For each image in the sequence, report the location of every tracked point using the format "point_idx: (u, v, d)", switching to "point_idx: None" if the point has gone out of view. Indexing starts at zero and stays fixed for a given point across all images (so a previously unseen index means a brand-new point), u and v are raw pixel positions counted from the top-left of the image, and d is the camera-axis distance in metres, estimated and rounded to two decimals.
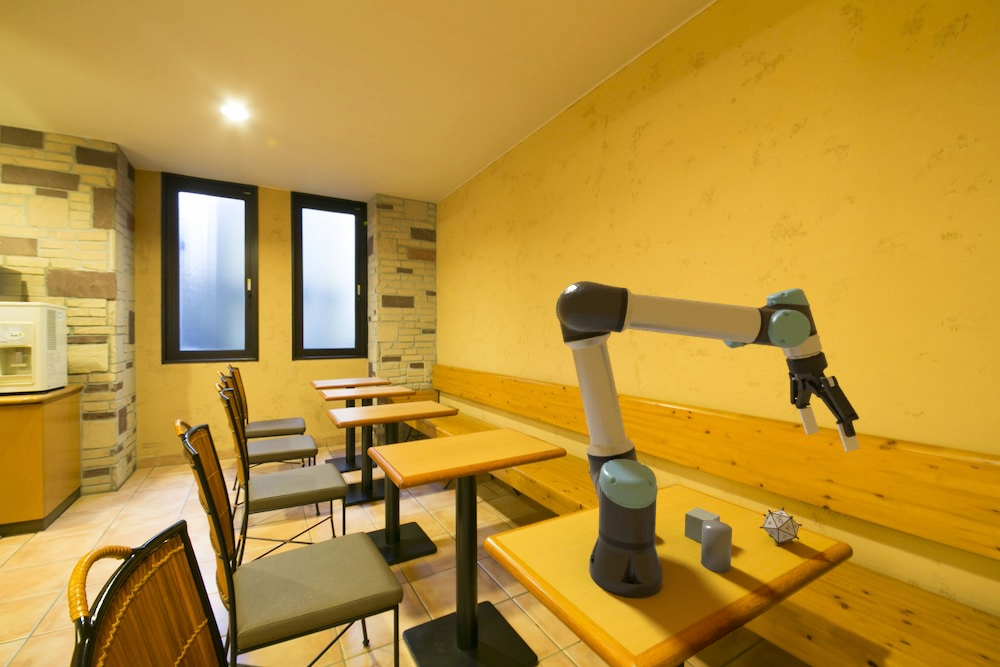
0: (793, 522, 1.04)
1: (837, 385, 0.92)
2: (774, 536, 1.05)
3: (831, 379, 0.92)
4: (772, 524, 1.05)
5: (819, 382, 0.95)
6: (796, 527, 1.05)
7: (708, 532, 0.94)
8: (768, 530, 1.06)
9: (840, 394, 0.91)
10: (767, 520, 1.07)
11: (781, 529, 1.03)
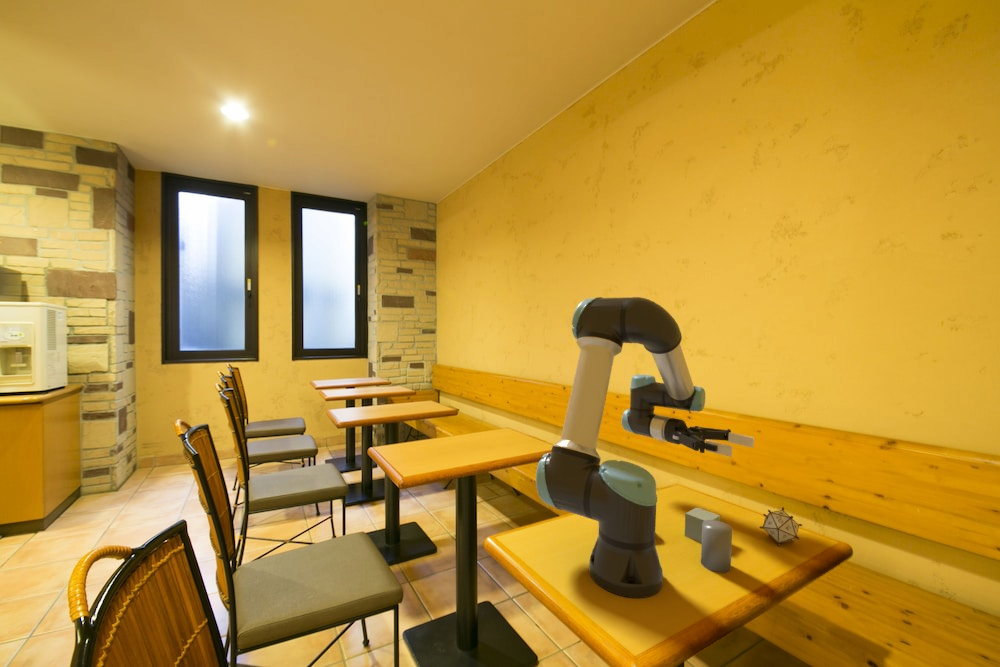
0: (793, 522, 1.04)
1: None
2: (774, 536, 1.05)
3: None
4: (772, 524, 1.05)
5: None
6: (796, 527, 1.05)
7: (708, 532, 0.94)
8: (768, 530, 1.06)
9: None
10: (767, 520, 1.07)
11: (781, 529, 1.03)
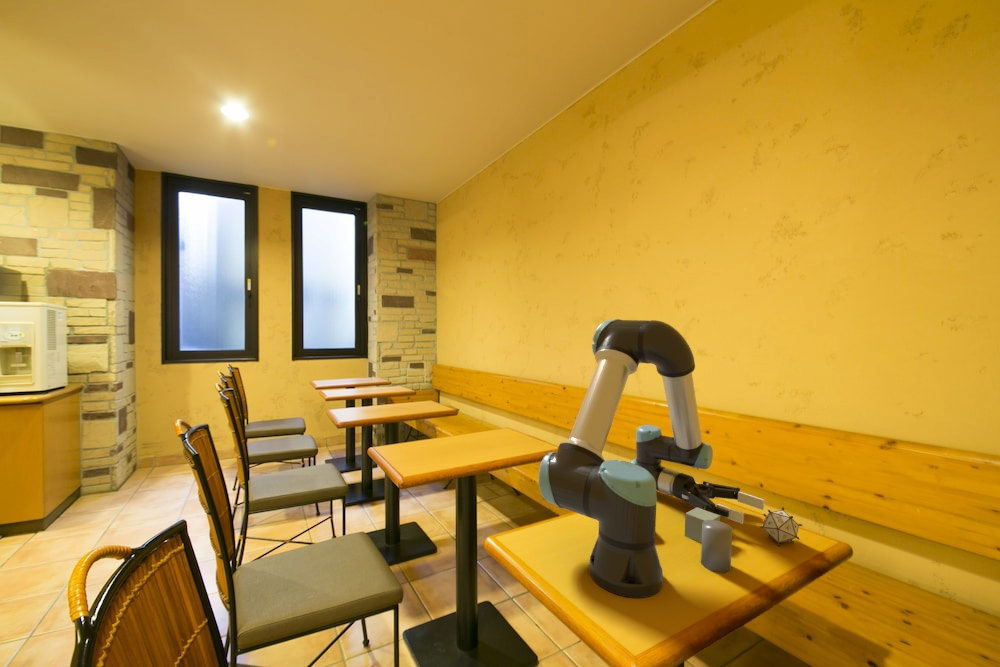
0: (793, 522, 1.04)
1: None
2: (774, 536, 1.05)
3: None
4: (772, 524, 1.05)
5: None
6: (796, 527, 1.05)
7: (708, 532, 0.94)
8: (768, 530, 1.06)
9: None
10: (767, 520, 1.07)
11: (781, 529, 1.03)
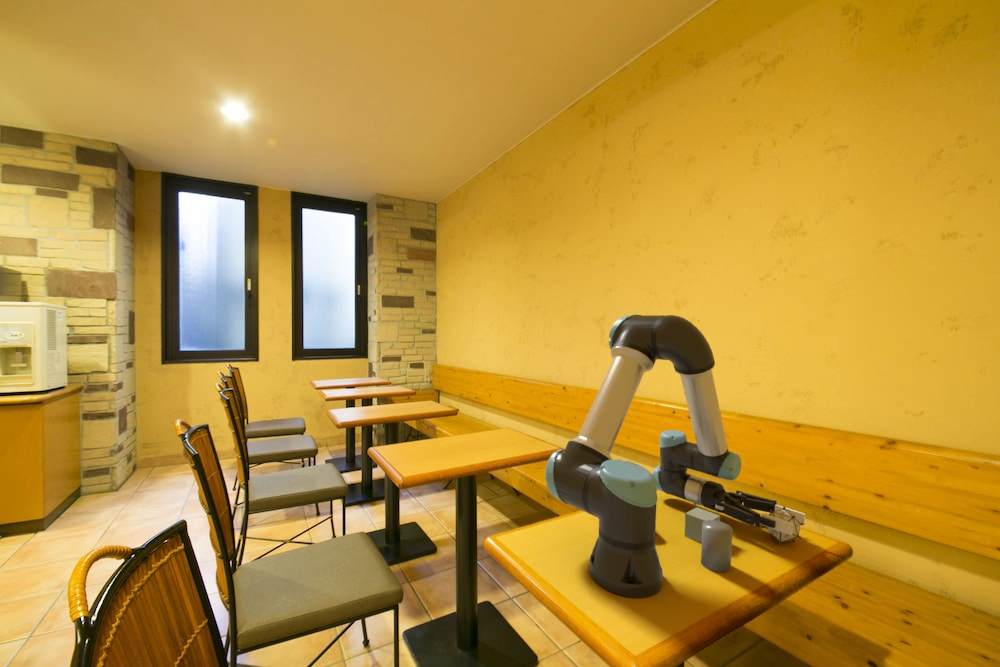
0: (795, 522, 1.05)
1: None
2: (776, 535, 1.05)
3: None
4: None
5: None
6: (798, 526, 1.05)
7: (708, 532, 0.94)
8: (770, 530, 1.06)
9: None
10: None
11: None
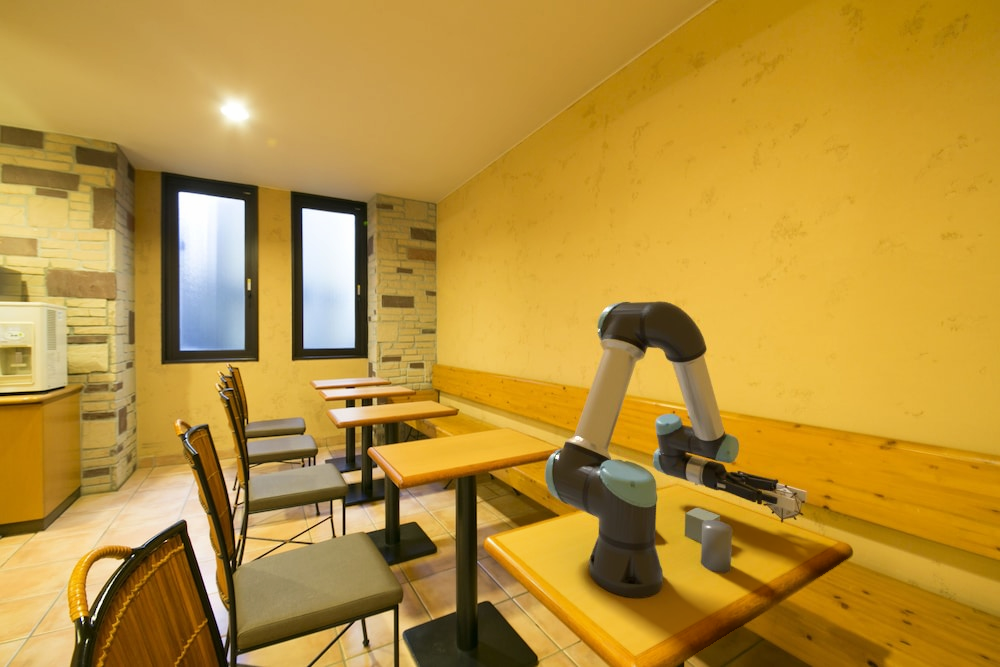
0: (797, 499, 1.05)
1: None
2: (778, 513, 1.05)
3: None
4: None
5: None
6: (799, 503, 1.05)
7: (708, 532, 0.94)
8: (772, 507, 1.06)
9: None
10: None
11: None
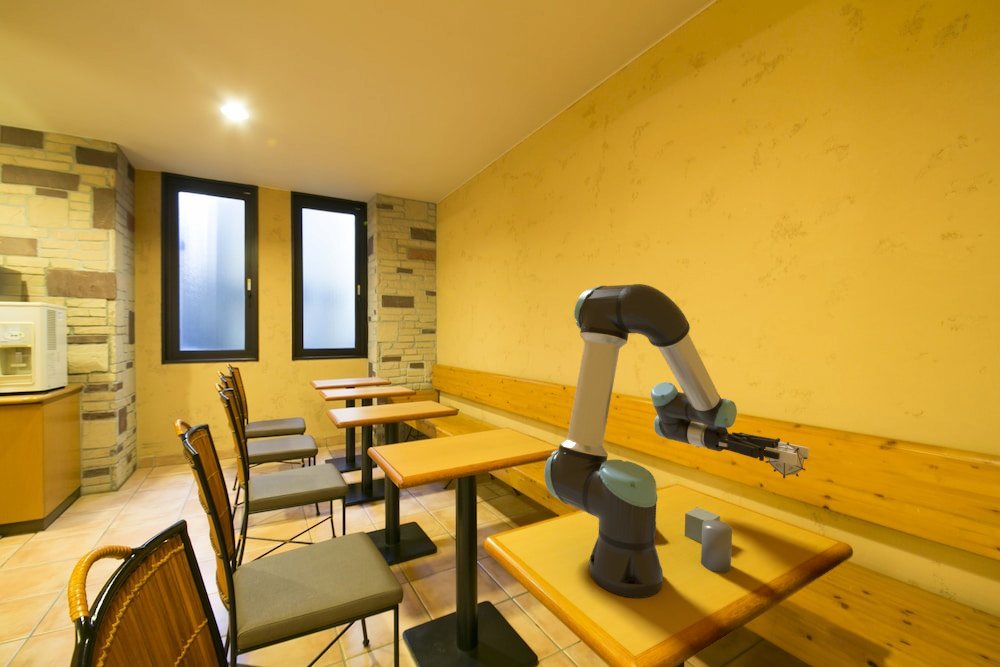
0: (799, 455, 1.04)
1: None
2: (780, 469, 1.05)
3: None
4: None
5: None
6: (802, 459, 1.04)
7: (708, 532, 0.94)
8: (774, 464, 1.06)
9: None
10: None
11: None
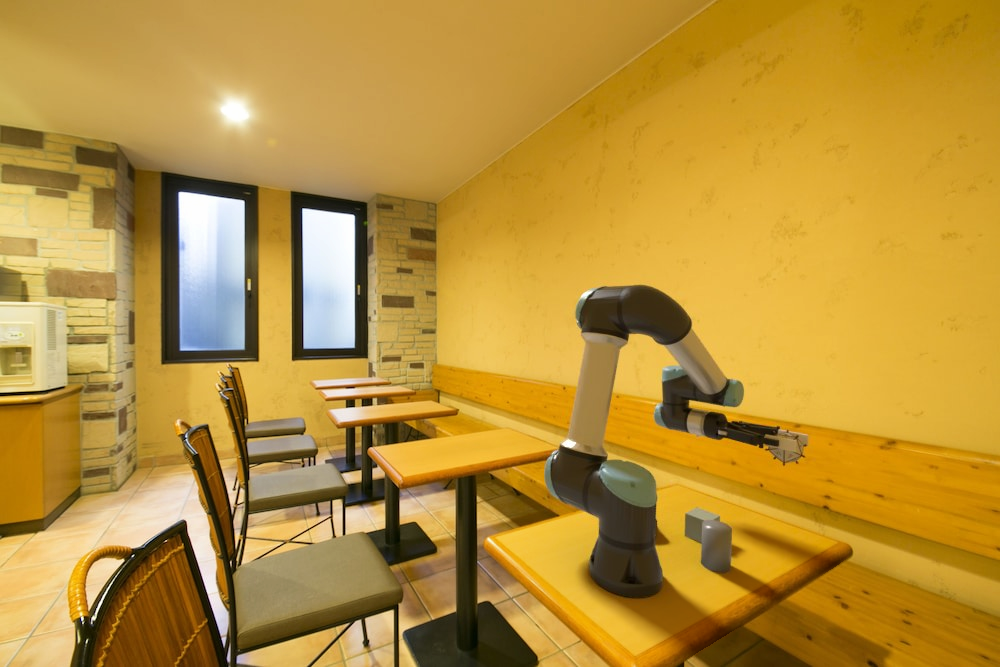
0: (799, 442, 1.04)
1: None
2: (780, 456, 1.05)
3: None
4: None
5: None
6: (801, 447, 1.04)
7: (708, 532, 0.94)
8: (773, 451, 1.06)
9: None
10: None
11: None
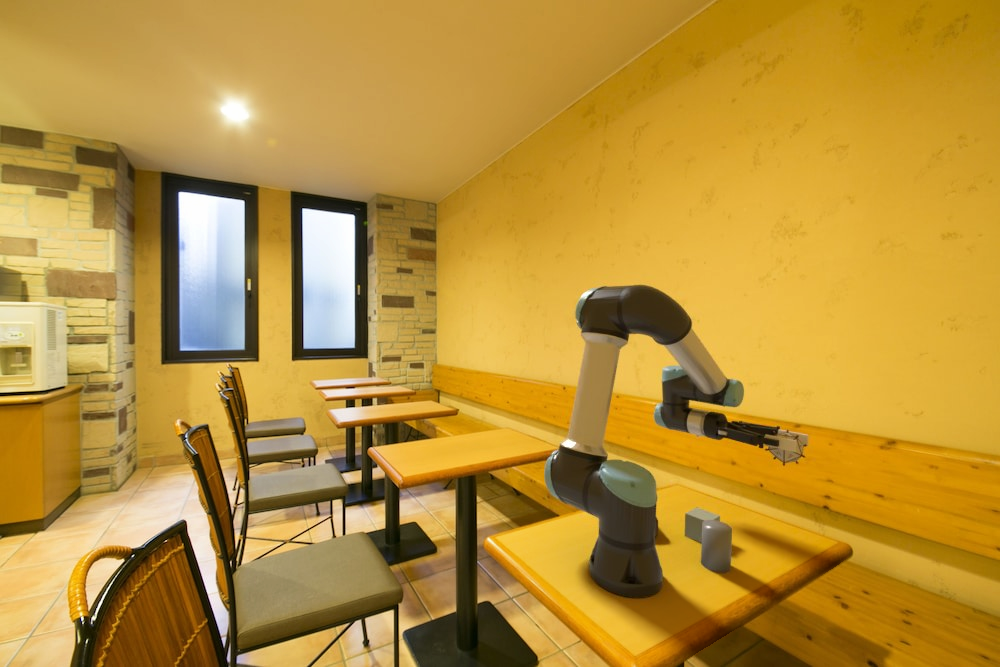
0: (799, 442, 1.04)
1: None
2: (780, 456, 1.05)
3: None
4: None
5: None
6: (801, 447, 1.04)
7: (708, 532, 0.94)
8: (773, 451, 1.06)
9: None
10: None
11: None
